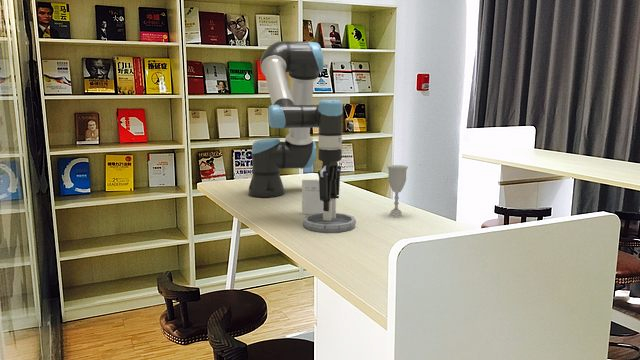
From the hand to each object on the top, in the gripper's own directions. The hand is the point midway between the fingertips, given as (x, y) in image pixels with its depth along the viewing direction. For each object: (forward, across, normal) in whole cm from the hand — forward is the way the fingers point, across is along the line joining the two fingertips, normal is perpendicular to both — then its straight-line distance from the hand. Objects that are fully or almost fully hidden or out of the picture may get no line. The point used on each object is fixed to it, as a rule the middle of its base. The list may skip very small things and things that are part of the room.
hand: (329, 218), depth 176 cm
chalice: (+3, +22, -16) cm, 27 cm away
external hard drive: (+3, +12, +12) cm, 17 cm away
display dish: (+2, 0, 0) cm, 2 cm away
